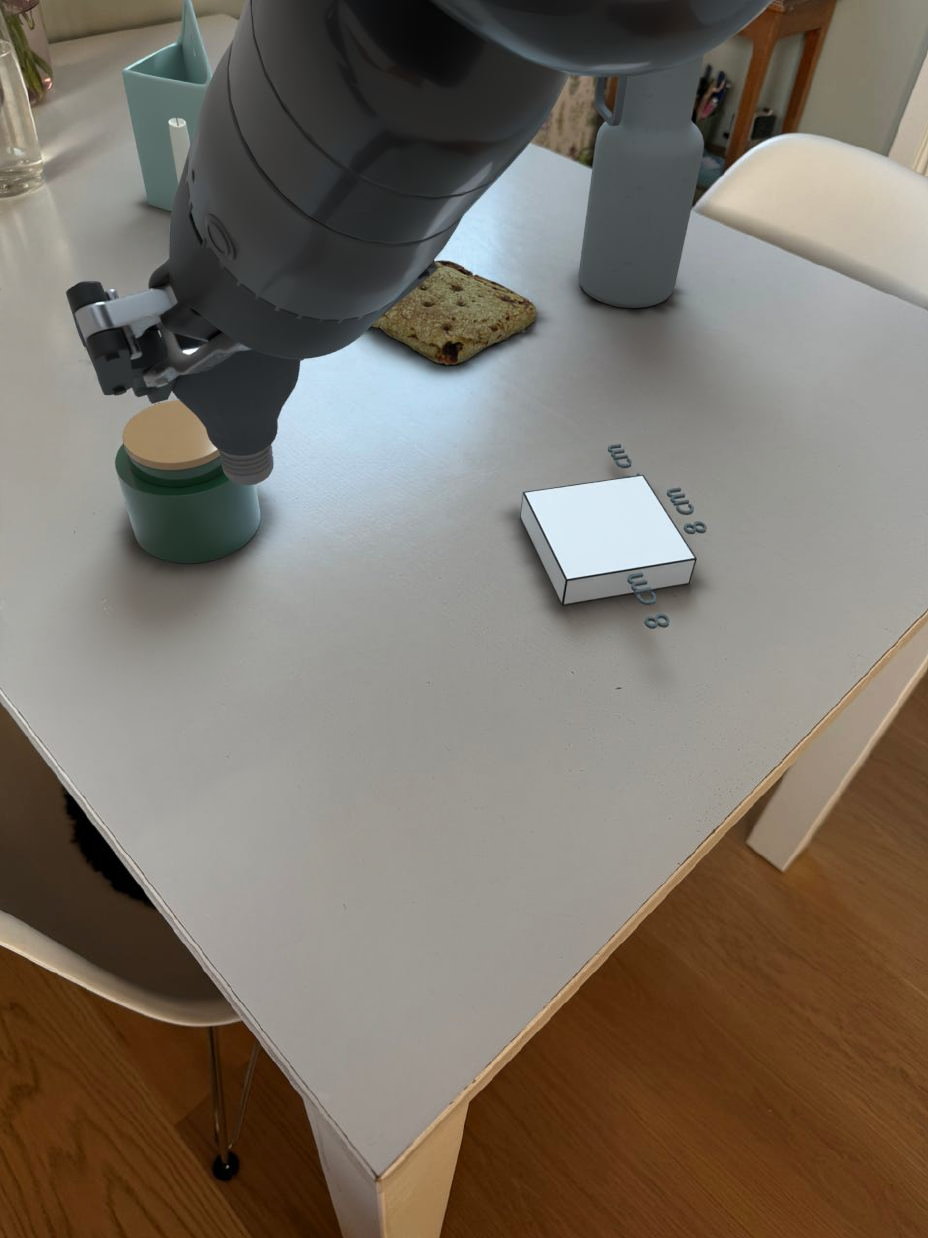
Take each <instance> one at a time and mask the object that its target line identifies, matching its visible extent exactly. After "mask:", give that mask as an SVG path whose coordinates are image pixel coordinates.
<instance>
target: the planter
mask: <svg viewBox="0 0 928 1238" xmlns="http://www.w3.org/2000/svg"><path fill="white" fill-rule="evenodd" d="M213 74H214V73H213V71H212V67H211V64H210V61H209V57H208V54H207V51H206V47H205V43H204V40H203V37H202V33H201V30H200V27H199V23H198V20H197V17H196V12H195V9H194V5H193V1H192V0H182V13H181V23H180V31H179V34H178V36H177V38H176V39H175V41H174V42H172V43H171V44H169V45H167V46H164V47H162V48H160V49H157V50H156V51H155V52H152V53H150V54H148V55H146V56H144V57H142V58H141V59H139V60H137V61H135V62H133V63H132V64H130V65H128V66H126V67H124V68H122V70H121V76H122V81H123V85H124V92H125V96H126V100H127V105H128V110H129V116H130V120H131V126H132V130H133V131H132V132H133V135H134V141H135V146H136V150H137V154H138V160H139V166H140V170H141V174H142V175H141V176H142V179H143V184H144V190H145V193H146V195H145V196H146V200H147V203H148V205H149V206H151V207H155V208H159V209H161V210H164V211H168V212H170V213H171V212H172V207H173V203H174V199H175V196H176V192H177V189H178V186H179V185H178V179H177V173H176V167H175V161H174V156H173V150H172V144H171V137H170V129H169V123H168V122H169V120H170V119H172V118H176V115H177V118H180V119H183V120H184V121H185V122H186V126H187V131H188V136H189V140H190V145H191V142H192V138H193V135H194V132H195V128H196V125H197V121H198V118H199V115H200V111H201V108H202V104H203V101H204V98H205V94H206V91H207V88H208V86H209V83H210V80H211V78H212V76H213Z"/></svg>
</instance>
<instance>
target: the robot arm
mask: <svg viewBox="0 0 928 1238" xmlns="http://www.w3.org/2000/svg"><path fill="white" fill-rule="evenodd" d="M774 1H775V0H244V3H243V6H242V9H241V13H240V16H239V19H238V22H237V26H236V28H235V31H234V36H233V38H232V40H231V43H230V44H229V45H228V47H227V48H226V50H225V51H224V53H223V54H222V56H221V58H220V60H219V62H218V64H217V66H216V68H215V70H214V71H213V73H212V74H213V76H212V78H211V80H210V83H209V86H208V88H207V91H206V94H205V98H204V101H203V104H202V108H201V111H200V115H199V118H198V121H197V125H196V128H195V132H194V135H193V138H192V142H191V145H190V148H189V152H188V155H187V158H186V162H185V165H184V169H183V172H182V175H181V179H180V182H179V186H178V189H177V192H176V196H175V199H174V203H173V207H172V212H171V211H170V220H169V232H168V233H169V234H168V235H169V236H168V237H169V238H168V259H166V261H164V262H163V263H162V264H160V266H158V267H157V268H155V270H154V271H153V272H152V273H151V275H150V277H149V280H148V282H147V283H148V284H147V289H145V290H144V289H143V290H141V291H139V292H134V293H131V294H127V295H124V296H119V294H118V292H117V291H118V290H116V289H114V288H111V289H106V290H105V289H104V287H103V284H102V282H101V281H98V280H88V281H87V280H84V281H80V282H77V283H76V284H75V285H72V286H71V287H69V288H67V290H66V292H65V295H66V299H67V302H68V305H69V308H70V311H71V315H72V318H73V321H74V324H75V328H76V330H77V335H78V337H79V339H80V341H81V343H82V346H83V348H85V350H86V352H87V355H88V357H89V360H90V361H91V364H92V366H93V369H94V371H95V373H96V377H97V380H98V384H99V386H100V389H101V391H102V393H103V395H104V396H120V395H124V394H126V393H127V392H128V390H130V389H132V391H133V394H134V396H135V397H136V398H141V397H144V396H147V399H148V401H149V402H150V404H152V405H155V404H158V403H162V402H165V401H168V400H169V397H170V395H171V393H173V392H172V389H173V387H174V385H175V383H176V381H177V379H178V378H177V377H178V376H179V375H186V374H193V373H200V372H207V371H209V370H211V369H212V368H214V367H215V366H217V365H218V364H220V363H221V362H223V361H224V360H226V359H227V358H229V357H230V356H232V355H233V354H235V353H236V352H240V351H247V350H255V351H258V352H260V353H263V354H267V355H270V356H275V357H280V358H287V359H301V361H300V362H303V361H305V360H308V359H315V358H321V357H324V356H328V355H331V354H333V353H337V352H339V351H341V350H343V349H345V348H346V347H348V346H350V345H351V344H352V343H355V342H356V341H357V340H359V338H360V337H362V336H363V335H364V334H365V333H366V332H367V330H369V328H371V327H372V326H371V325H372V324H373V323H375V322H376V321H377V319H379V318H380V317H382V316H383V315H384V314H385V313H387V312H388V311H389V310H390V309H391V308H393V307H394V306H395V305H396V304H397V303H399V302H400V301H401V300H402V299H403V298H405V297H406V296H407V295H408V294H409V293H410V292H412V291H413V290H414V289H415V288H416V287H418V286H419V285H420V284H421V283H422V282H424V281H425V280H426V279H427V278H429V277H430V276H431V275H432V274H433V273H434V272H436V271H437V266H436V263H435V261H436V260H435V259H436V258H437V257H438V256H439V255H440V254H441V252H443V250H444V249H445V247H446V246H447V243H448V242H449V241H450V239H451V238H452V237H453V235H454V234H455V232H456V230H457V229H458V226H459V225H460V223H461V222H462V219H463V217H464V216H465V215H466V214H467V213H468V212H469V211H470V209H472V207H474V205H475V204H476V203H477V202H478V201H479V200H480V199H481V198H482V196H483V195H485V193H486V192H488V190H489V189H490V188H491V187H492V186H493V185H494V184H495V183H496V182H497V180H499V178H500V177H502V175H503V174H504V173H505V172H506V171H507V170H508V169H509V168H510V167H511V166H512V165H513V163H514V162H515V161H517V159H518V158H519V156H521V154H523V152H524V151H525V150H526V149H527V148H528V146H529V145H530V144H531V143H532V141H533V139H535V137H536V136H537V134H539V133H538V132H539V131H540V130H541V128H542V127H543V126H544V124H545V122H546V121H547V120H548V118H549V116H550V114H551V113H552V111H553V109H554V107H555V105H556V104H557V102H558V100H559V98H560V97H561V94H562V93H563V90H564V88H565V86H566V84H567V81H568V79H569V77H570V75H573V76H579V77H591V78H596V77H605V78H618V77H625V76H638V75H644V74H651V73H657V72H660V71H664V70H667V69H671V68H674V67H677V66H679V65H682V64H684V63H686V62H689V61H691V60H694V59H696V58H698V57H700V56H703V55H704V56H705V55H706V54H707V53H709V52H711V51H713V50H714V49H716V48H717V47H719V46H721V45H722V44H724V43H725V42H727V41H728V40H730V39H731V38H733V37H734V36H736V35H737V34H739V33H740V32H741V31H742V30H744V29H745V28H746V27H748V26H749V25H750V24H751V23H753V21H755V19H757V18H758V17H759V16H760V15H761V14H762V13H764V12H765V11H766V10H767V8H768V7H769V6H770V5H771V4H772V3H773V2H774ZM161 336H162V339H163V341H164V344H165V346H166V349H167V351H166V349H165V346H164V344H163V341H162V339H161ZM203 341H206V342H207V343H206V344H203Z"/></svg>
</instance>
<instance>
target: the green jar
mask: <svg viewBox="0 0 928 1238" xmlns="http://www.w3.org/2000/svg"><path fill="white" fill-rule="evenodd" d="M121 439H122V443H121V445H120V447H119V448H118V450H117V452H116V455H115V457H114V468H115V472H116V475H117V478H118V482H119V485H120V489H121V493H122V497H123V500H124V503H125V507H126V510H127V513H128V517H129V521H130V524H131V527H132V530H133V531H132V532H133V534H134V538H135V539H136V542H137V543H138V545H139V546H140V547H141V548H142V549H143V550H144V551H145V552H146V553H148V554H149V555H151V556H152V557H154V558H157V559H159V560H162V561H165V562H171V563H176V564H201V563H207V562H211V561H215V560H218V559H221V558H225V557H227V556H229V555H232V554H233V553H235V552H237V551H238V550H240V549H241V548H243V547H244V546H245V545H247V543H249V542H250V541H251V540H252V538H253V537H254V536H255V534H256V533H257V531H258V530H259V526H260V523H261V509H260V502H259V497H258V496H259V495H258V489H257V484H255V485H242V484H237V483H235V482H232V481H231V480H230V479H229V478H228V477H227V476H226V475H225V474H224V471H223V469H222V462H221V458H220V453H219V450H218V449H217V448H216V447H215V446H214V445H213V444H212V443H211V441H210V440H209V437H208V434H207V431H206V427H205V426H204V425H203V424H202V422H201V421H200V420H199V418H198V417H197V416H196V415H195V414H194V413H193V412H192V411H191V410H190V409H189V408H188V407H186V406H185V405H184V404H183V403H182V402H181V401H180V400H179V399H176V400H170V401H163V402H159V403H156V404H153V405H151V406H148V407H147V408H145V409H142V410H141V411H139V412H137V413H136V414H135V415H133V417H131V418H130V419H129V420H128V422H127V423H126V424H125V426H124V427H123V430H122V434H121Z"/></svg>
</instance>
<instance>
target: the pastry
mask: <svg viewBox="0 0 928 1238" xmlns="http://www.w3.org/2000/svg"><path fill="white" fill-rule="evenodd" d="M434 261H435V263H436V266H437V271H436V272H434V273H433V274H432V275H431V276H430V277H429V278H427V279H426V280H425V281H424V282H422V283H421V284H420V285H419V286H418V287H416V288H415V289H414V290H413V291H412V292H410V293H409V294H408V295H407V296H406V297H405V298H403V299H402V300H401V301H400V302H399V303H397V304H396V305H395V306H394V307H393V308H391V309H390V310H389V311H388V312H387V313H385V314H384V315H383V316H382V317H380V318H379V319H377V321H376V322H375V323H373V324H372V325H371V326H370V327H374V328H378V329H379V328H380V329H382V330H383V332H384V333H385V334H386V335H388V336H389V337H391V338H393V339H396V340H397V341H399V342H400V343H403V344H405V345H407V346H409V347H410V348H412V349H413V351H415V352H418V354H420V355H421V356H424V357H425V358H427V359H428V360H430V361H431V362H434V363H436V364H442V365H446V366H450V365H452V366H453V365H458V364H461V363H464V362H466V361H468V360H469V359H471V357H475V356H476V355H477V354H478V353H480V352H481V351H482V350H486V348H487V347H490V346H492V345H494V344H498V343H500V342H502V341H507V340H508V339H509V338H510V336H512V335H513V334H518V333H524V334H525V333H526V328H527V327H528V326H529V325H530V324H532V323H533V322H535V320H536V319H537V316H538V312H537V308H536V305H535V303H533V301H530V299H529V298H527V297H526V296H522V295H521V294H519V293H517V292H516V291H514V290H512V289H510V288H508V287H506V286H505V285H503V284H500V283H499V282H497V281H493V280H491V279H488V278H485V277H483V276H480V275H479V274H473V272H472V271H470V270H468V269H467V268H465V267H464V266H463V265H461V264H459V263H457V262H454V261H451V260H443V259H442V260H440V259H439V260H434Z"/></svg>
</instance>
